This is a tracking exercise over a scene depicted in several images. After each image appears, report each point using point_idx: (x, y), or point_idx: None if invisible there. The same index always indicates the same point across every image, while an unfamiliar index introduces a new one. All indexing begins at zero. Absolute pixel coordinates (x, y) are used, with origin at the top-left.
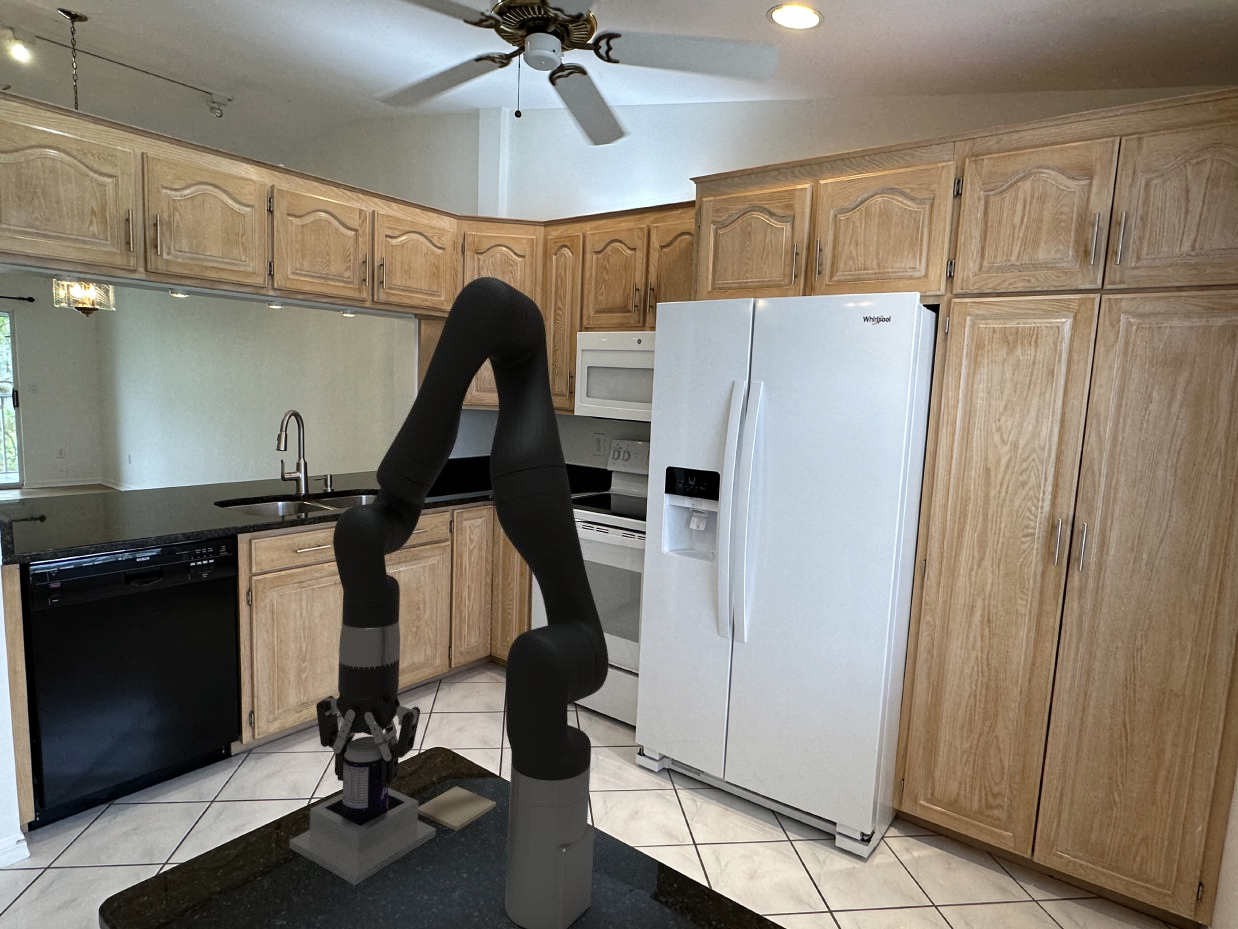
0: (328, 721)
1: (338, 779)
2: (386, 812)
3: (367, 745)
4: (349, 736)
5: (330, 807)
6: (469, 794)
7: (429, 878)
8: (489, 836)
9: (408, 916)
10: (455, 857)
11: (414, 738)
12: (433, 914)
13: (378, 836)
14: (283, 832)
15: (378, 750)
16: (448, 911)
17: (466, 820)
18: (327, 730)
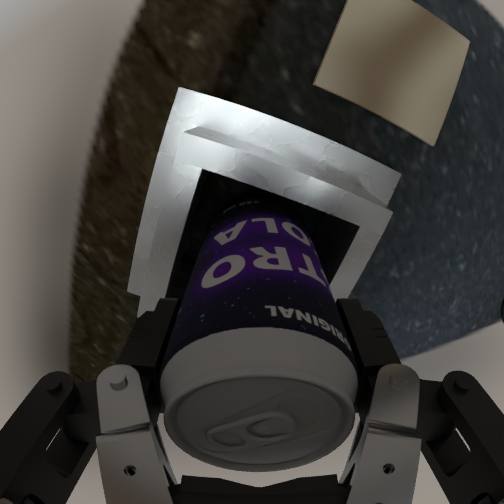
0: (57, 498)
1: None
2: (330, 285)
3: (264, 433)
4: (170, 469)
5: (167, 288)
6: (407, 6)
7: (415, 290)
8: (482, 152)
9: (402, 357)
10: (444, 228)
11: (496, 411)
12: (430, 345)
13: None
14: (86, 245)
15: (337, 445)
16: (446, 335)
17: (443, 117)
18: (78, 478)
